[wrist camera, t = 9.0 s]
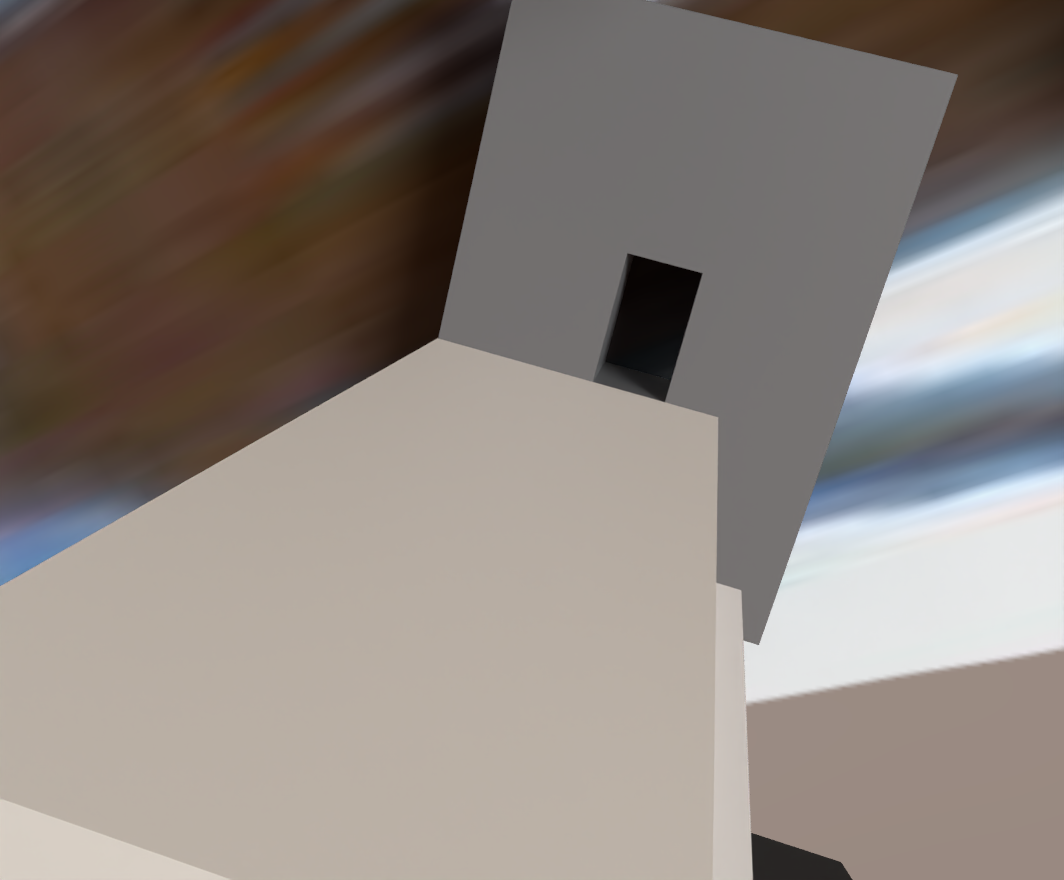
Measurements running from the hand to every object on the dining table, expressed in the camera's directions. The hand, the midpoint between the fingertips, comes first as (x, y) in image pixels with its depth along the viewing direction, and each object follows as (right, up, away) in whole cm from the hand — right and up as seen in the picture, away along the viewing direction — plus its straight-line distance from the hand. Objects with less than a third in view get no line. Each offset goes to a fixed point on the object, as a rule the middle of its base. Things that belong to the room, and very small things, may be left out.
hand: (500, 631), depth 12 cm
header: (+5, +7, +26) cm, 28 cm away
